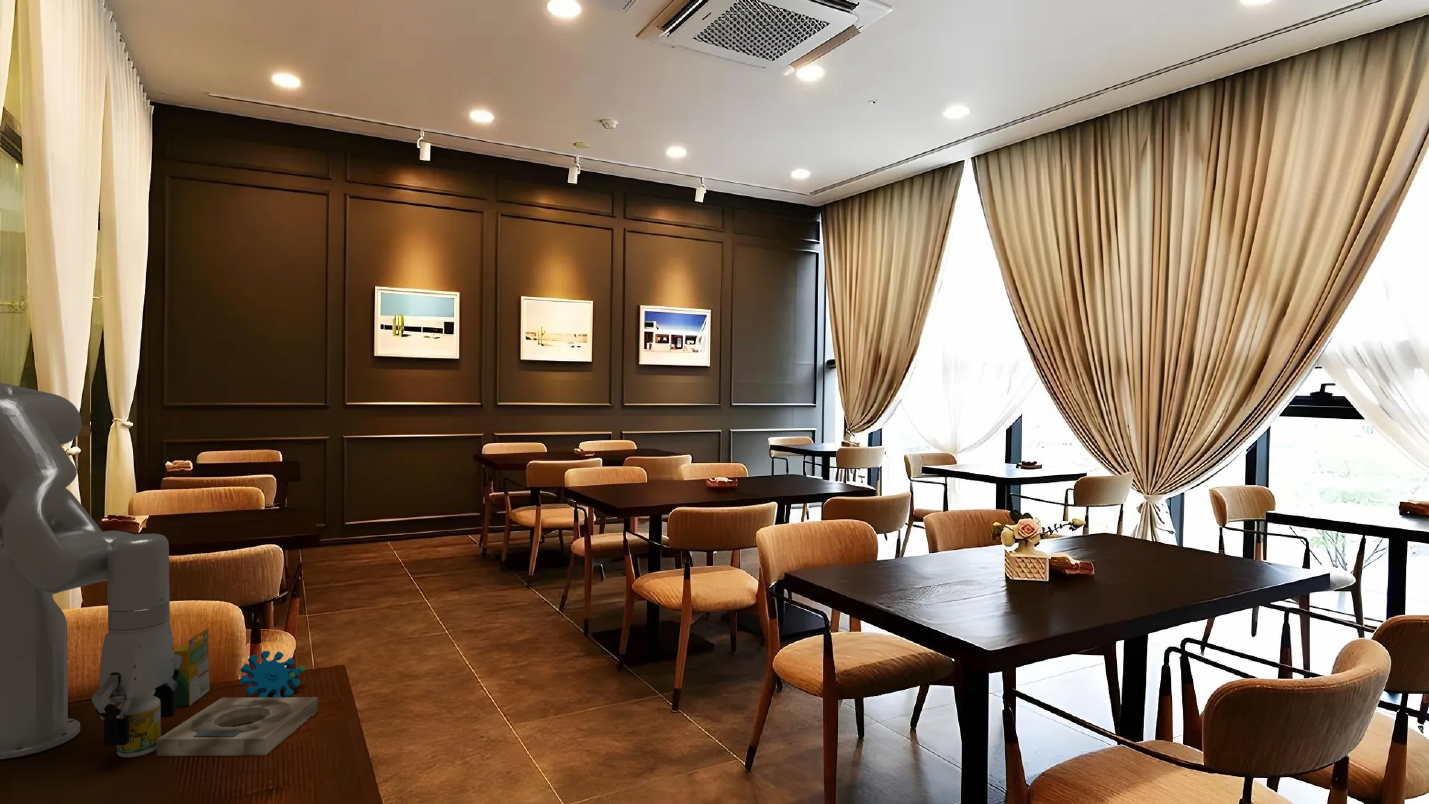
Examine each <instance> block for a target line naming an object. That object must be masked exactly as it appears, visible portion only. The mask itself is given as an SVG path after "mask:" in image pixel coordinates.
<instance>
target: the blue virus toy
mask: <svg viewBox="0 0 1429 804" xmlns="http://www.w3.org/2000/svg"><path fill="white" fill-rule="evenodd" d="M270 654H271V652H270V651H268V650H263V651H262V652H261V653H260V659H261V663H258V658H259V657H258V655H257V654H253V655H251V656H249V658H248V659H247V661H248V663H250V664H248V663H244V664H243V666H242V667H241V668H240V670H239V671H240V672H241V673H244V674H243V675H242V676H241V677H240V679H239V684H240V685H247V684H251V685H250V686H247V688H246V689H245V693H246V694H247V695H248V696H252V695H253V694H254V693H256V694H257V695H258V696H257V697H268V694H270V693H271V692H274V694H273V696H272V697H282V695H281V689H283V690H284V693H283V697H292V695H293V694H294V690H293V689H296V688H297V687H298V686H299V685H300V683H301V680H299V677H300V675H302V674H303V673H304V672H305V670H306V669H307V668H306V666H305V665H300V666H299V667H296V668H291V667H293V665H294V664H295V660H294V659H293V658H292V657H289V658H288V659H287V660H285V661H283V662H282V661H281V662H279V661H280V660H282V658H283V657H284V653H282V652H281V651H277V652H276V653H275V654H274V657H273V659H271V660H268V658H269V657H270ZM250 665H252V666H253V669H251V666H250ZM288 667H289V668H288ZM299 672H303V673H299ZM246 674H248V675H249V676H250V677H251V678H250V677H249V676H248V675H246ZM253 685H255V686H253ZM290 686H291V687H292V688H293V689H292V688H291V687H290Z"/></svg>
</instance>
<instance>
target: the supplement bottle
mask: <svg viewBox="0 0 1429 804" xmlns="http://www.w3.org/2000/svg"><path fill="white" fill-rule="evenodd" d="M155 691H156V690H155V689H153V690H151V691H150V692H148V693H146V694H144V695H142V696H140V697H139V698H136V699H134V700H132V702H131V704H130V706H129V708H128V710H127V713H126V715H125V716H129V743H127V744H126V745H116V754H117V755H118V756H119V757H121V758H135V757H136V758H137V757H141V756H143V755H147V754H150V753H152V752H155V751H157V739H158V738H160V737H161V736H162V728H161V727H162V725H161V724H162V721H161V718H162V717H161V705H160V700H159V698H157V697H155V696H153V695H154V693H155ZM121 695H126V694H121ZM120 705H121V703H120V704H119V705H118V706H117V708H118V709H119V707H120Z"/></svg>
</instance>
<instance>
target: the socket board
mask: <svg viewBox="0 0 1429 804" xmlns="http://www.w3.org/2000/svg"><path fill="white" fill-rule="evenodd" d="M318 704H319V703H318V696H310V697H309V696H305V697H304V696H300V697H299V696H296V697H294V696H289V697H285V696H283V697H282V696H281V697H273V696H272V697H270V696H269V697H268V696H267V697H258V696H257V697H254V696H253V697H251V696H250V697H221V698H219V699H217V700H216V701H215V702H213V703H211V704H210V705H208V706H206V707H205V708H203V709H202V710H201V711H199V712H196V713H195V714H193V716H191V717H190V718H188V719H186V720H184V721H183V722H181V723H180V724H178V725H177V726H175V727H174V728H172V729H171V730H169V731H167V732H165V733H164V734H163V735H161V737H160V738H158V739H157V749H156V757H199V756H200V757H201V756H204V757H207V756H208V757H209V756H211V757H212V756H213V757H215V756H217V757H218V756H219V757H220V756H223V757H224V756H225V757H226V756H267V755H268V754H269V753H270V752H272V751H273V749H275V748H276V747H277V746H279V744H281V743H282V742H284V740H286V739H287V738H288V737H290V735H292V734H293V733H294V732H295V731H296V730H298V729H299V728H300V727H301V726H302V725H304V724H305V723H306V722H307V721H308V720H310V719H311V718H312V717H313V716H314V715H316V714H317V713H318V712H317V711H318V707H319V706H318ZM316 712H317V713H316ZM311 716H312V717H311ZM310 717H311V718H310ZM309 718H310V719H309ZM307 719H308V720H307ZM249 722H250V723H249ZM304 722H305V723H304ZM303 723H304V724H303ZM243 724H244V725H243ZM239 725H240V726H239ZM300 725H301V726H300ZM299 726H300V727H299ZM297 728H298V729H297Z"/></svg>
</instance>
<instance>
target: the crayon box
mask: <svg viewBox="0 0 1429 804" xmlns="http://www.w3.org/2000/svg"><path fill="white" fill-rule="evenodd" d="M209 634H210V633H209V627H207V628H205V629H204V630H202V631H201V632H199V633H198V634H196V635H194V636H193V637H191V638H189V639H188V641H187V642H185V643H184V644H182V645H180V646H179V647H177V648H176V649H174V654H176V655H179V656H182V661H181V664H180V668H179V669H178V670H179V675H178V677H177V679H176V681H175V682H176V683H177V686H176V689H175V690H172V691H174V708H182V707H185V708H187V707H191V706H192V705H193V704H194V703H195V702H196V701H198V700H199V699H201V698H202V697H203V696H204V695H206V694H207V693H208V692H210V659H209V658H210V656H209V654H210V652H209V650H210V648H209V647H210V645H209V639H210V638H209V637H210V635H209Z"/></svg>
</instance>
